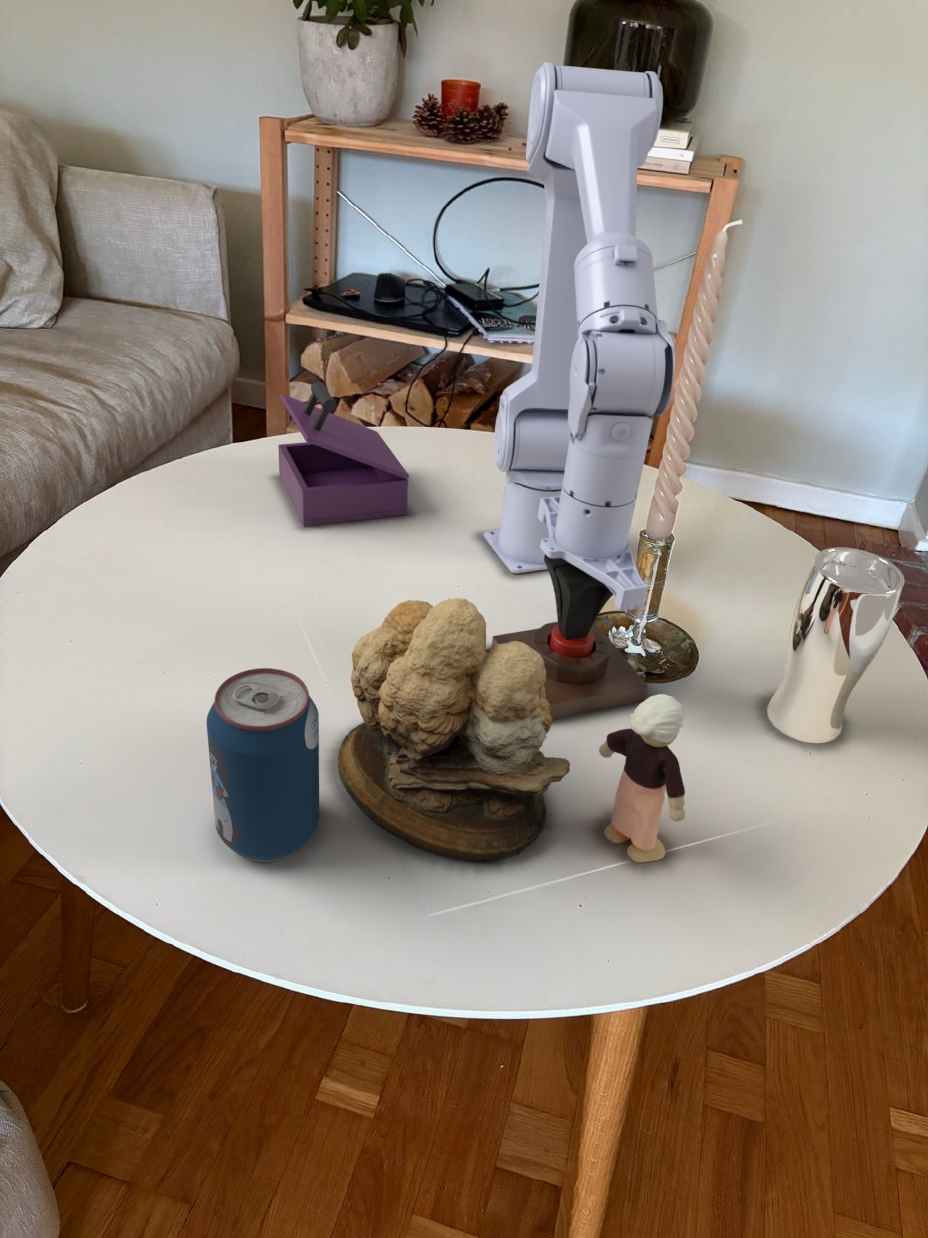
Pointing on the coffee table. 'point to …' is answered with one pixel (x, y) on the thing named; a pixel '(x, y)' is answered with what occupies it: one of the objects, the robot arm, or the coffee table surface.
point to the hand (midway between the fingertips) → (573, 633)
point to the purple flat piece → (340, 432)
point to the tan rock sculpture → (449, 733)
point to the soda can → (264, 763)
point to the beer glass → (833, 640)
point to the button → (571, 645)
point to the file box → (337, 486)
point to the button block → (582, 674)
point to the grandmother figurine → (646, 776)
